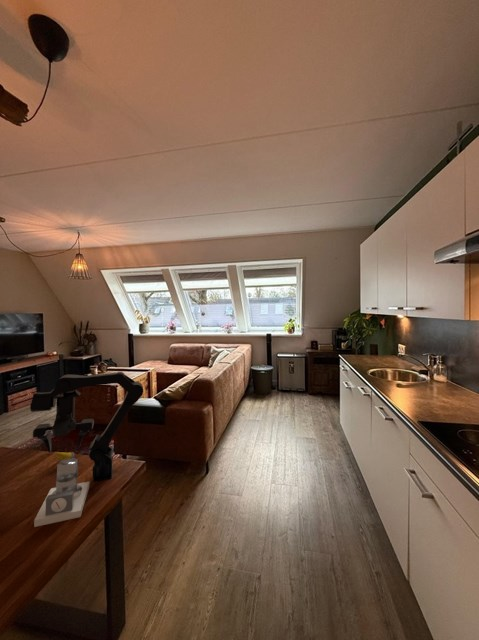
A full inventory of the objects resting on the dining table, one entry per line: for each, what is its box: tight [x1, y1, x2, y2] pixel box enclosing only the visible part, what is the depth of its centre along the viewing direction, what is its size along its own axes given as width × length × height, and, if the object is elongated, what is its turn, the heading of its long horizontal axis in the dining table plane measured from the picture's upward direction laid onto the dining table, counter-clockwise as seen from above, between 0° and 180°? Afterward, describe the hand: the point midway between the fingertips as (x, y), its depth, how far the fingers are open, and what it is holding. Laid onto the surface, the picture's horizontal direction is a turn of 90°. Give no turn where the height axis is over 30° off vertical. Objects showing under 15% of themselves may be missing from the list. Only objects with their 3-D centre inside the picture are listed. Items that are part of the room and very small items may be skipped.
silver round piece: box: [55, 476, 78, 494], centre depth 89 cm, size 6×6×5 cm
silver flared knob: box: [56, 457, 79, 483], centre depth 90 cm, size 6×6×5 cm
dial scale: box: [33, 481, 91, 528], centre depth 87 cm, size 12×16×7 cm
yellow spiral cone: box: [54, 451, 75, 462], centre depth 112 cm, size 5×5×10 cm
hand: (64, 449), depth 99 cm, fingers open, 9 cm apart
